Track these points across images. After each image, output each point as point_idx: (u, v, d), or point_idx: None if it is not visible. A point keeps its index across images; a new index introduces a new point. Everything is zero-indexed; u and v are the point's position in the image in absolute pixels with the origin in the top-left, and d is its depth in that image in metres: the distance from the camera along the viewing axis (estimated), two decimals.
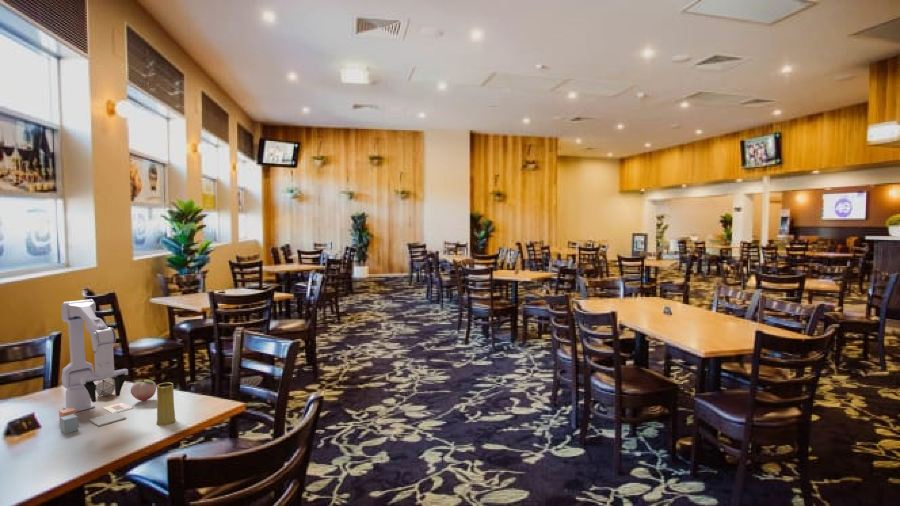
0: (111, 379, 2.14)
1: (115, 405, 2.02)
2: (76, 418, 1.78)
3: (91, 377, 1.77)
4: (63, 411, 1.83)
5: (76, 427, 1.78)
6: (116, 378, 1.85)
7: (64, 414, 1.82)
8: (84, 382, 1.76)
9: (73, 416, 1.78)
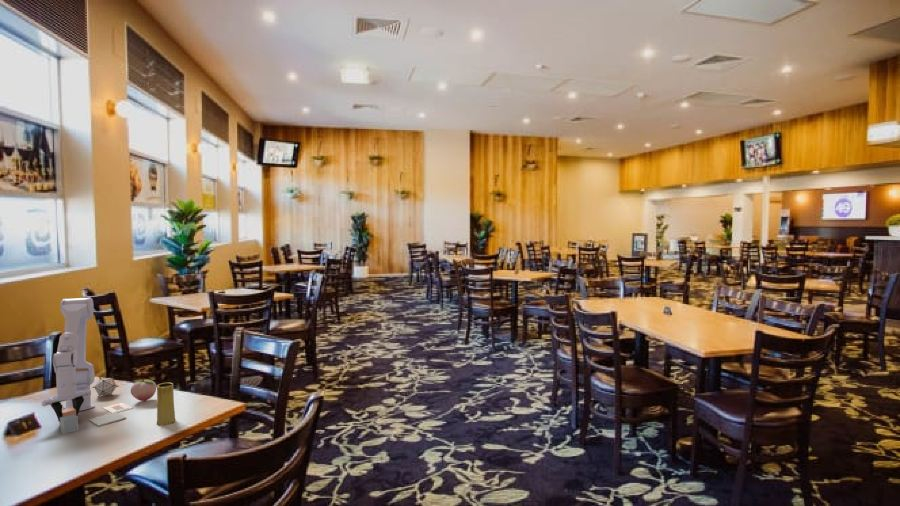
0: (111, 379, 2.14)
1: (115, 405, 2.02)
2: (76, 418, 1.78)
3: (52, 399, 1.80)
4: (63, 411, 1.83)
5: (76, 427, 1.78)
6: (74, 400, 1.86)
7: (64, 414, 1.82)
8: (45, 404, 1.78)
9: (73, 416, 1.78)
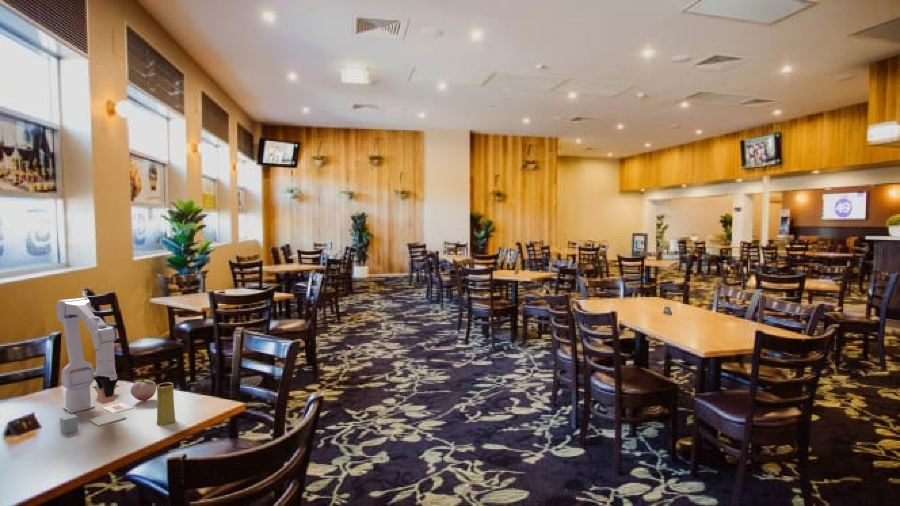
0: None
1: (115, 405, 2.02)
2: (76, 418, 1.78)
3: None
4: (103, 388, 1.88)
5: (76, 427, 1.78)
6: None
7: (98, 390, 1.86)
8: (95, 372, 1.90)
9: (73, 416, 1.78)
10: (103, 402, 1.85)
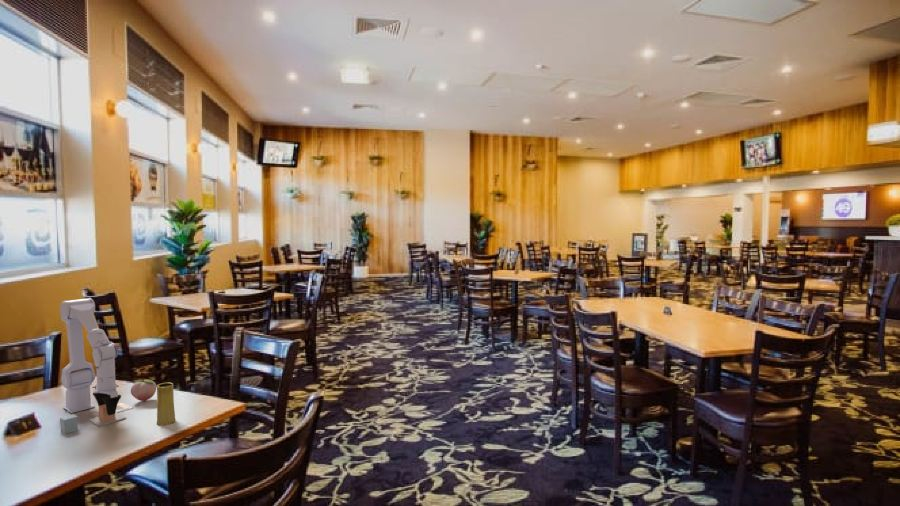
0: None
1: None
2: (76, 418, 1.78)
3: None
4: (104, 405, 1.88)
5: (76, 427, 1.78)
6: None
7: None
8: (96, 388, 1.90)
9: (73, 416, 1.78)
10: (104, 419, 1.85)
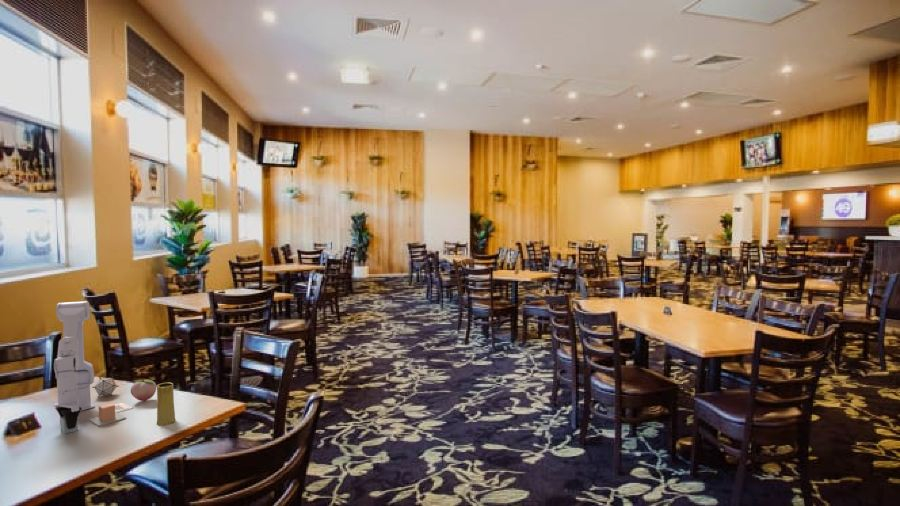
0: (111, 379, 2.14)
1: (115, 405, 2.02)
2: None
3: None
4: (104, 405, 1.88)
5: (76, 427, 1.78)
6: None
7: None
8: None
9: None
10: (104, 419, 1.85)
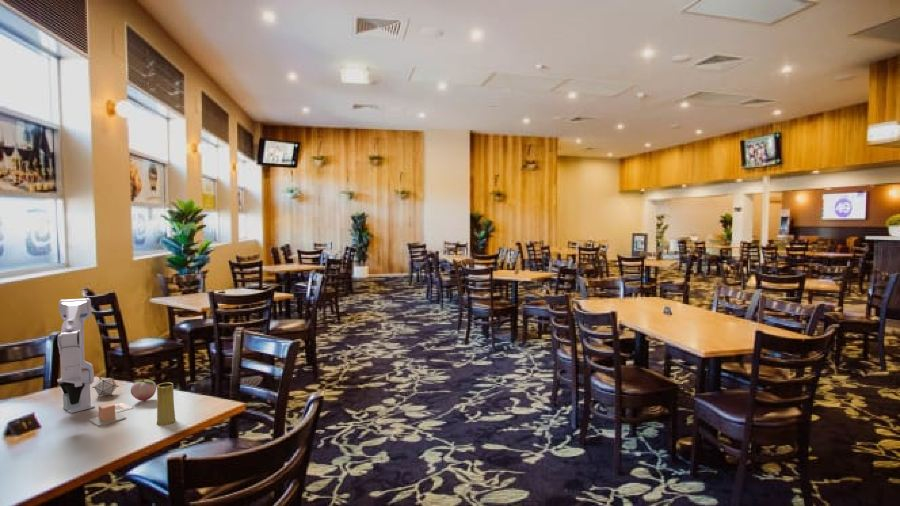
0: (111, 379, 2.14)
1: (115, 405, 2.02)
2: None
3: None
4: (104, 405, 1.88)
5: (79, 404, 1.79)
6: None
7: None
8: None
9: None
10: (104, 419, 1.85)
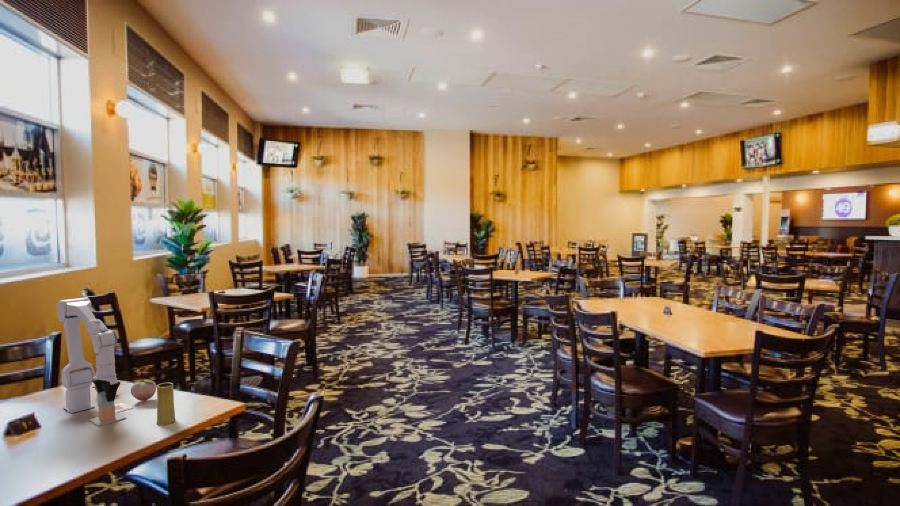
0: None
1: (115, 405, 2.02)
2: None
3: None
4: None
5: (112, 402, 1.87)
6: None
7: None
8: None
9: None
10: (104, 419, 1.85)
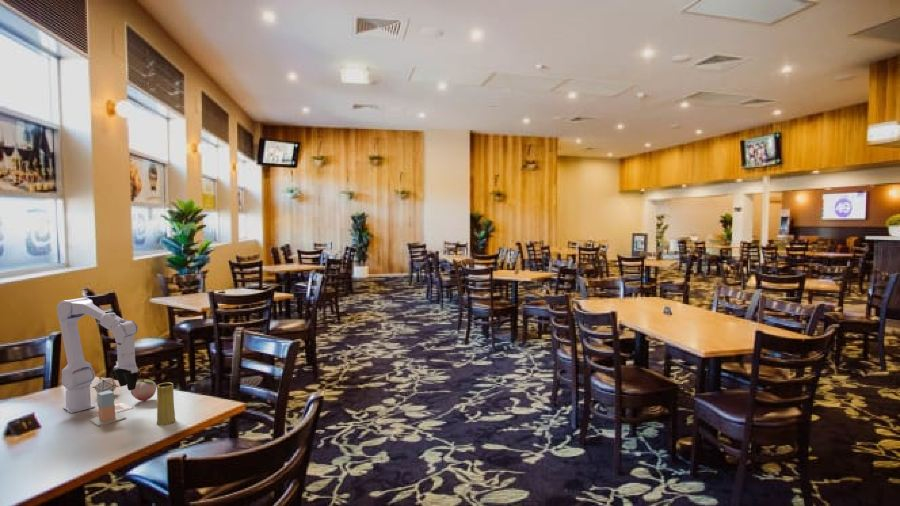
0: (111, 379, 2.14)
1: (115, 405, 2.02)
2: (112, 394, 1.87)
3: None
4: None
5: (112, 402, 1.87)
6: None
7: None
8: (116, 365, 1.96)
9: (109, 392, 1.87)
10: (104, 419, 1.85)
